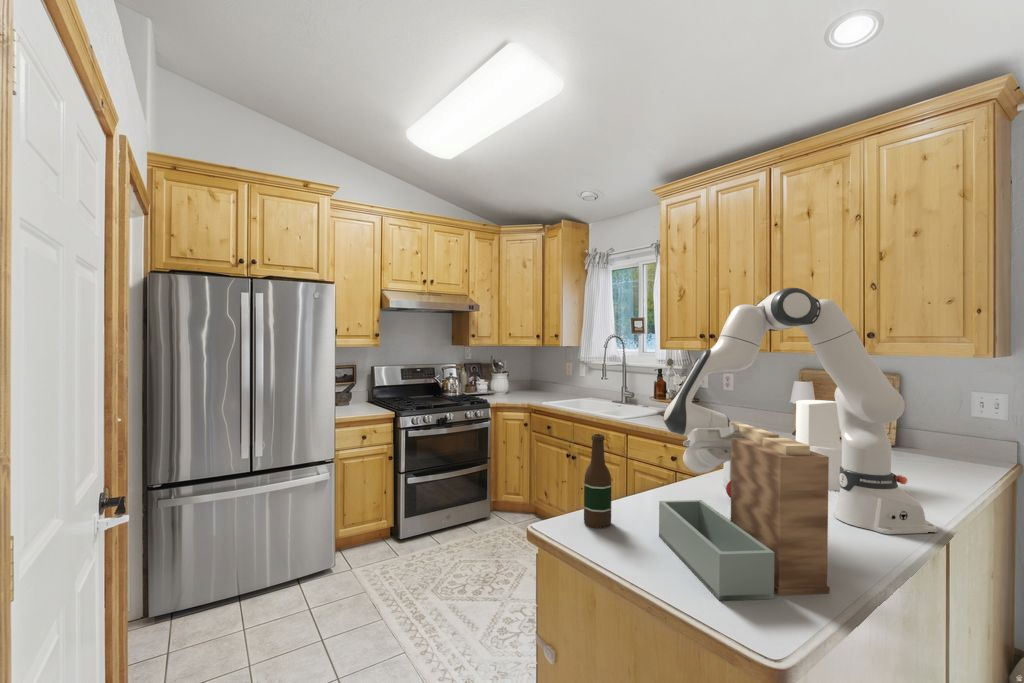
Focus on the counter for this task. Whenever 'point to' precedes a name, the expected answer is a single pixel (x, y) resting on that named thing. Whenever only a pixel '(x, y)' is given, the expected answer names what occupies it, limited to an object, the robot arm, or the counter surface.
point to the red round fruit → (728, 489)
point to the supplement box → (726, 473)
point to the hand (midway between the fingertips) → (743, 427)
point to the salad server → (772, 440)
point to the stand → (784, 511)
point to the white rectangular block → (821, 433)
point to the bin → (717, 551)
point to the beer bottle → (597, 487)
